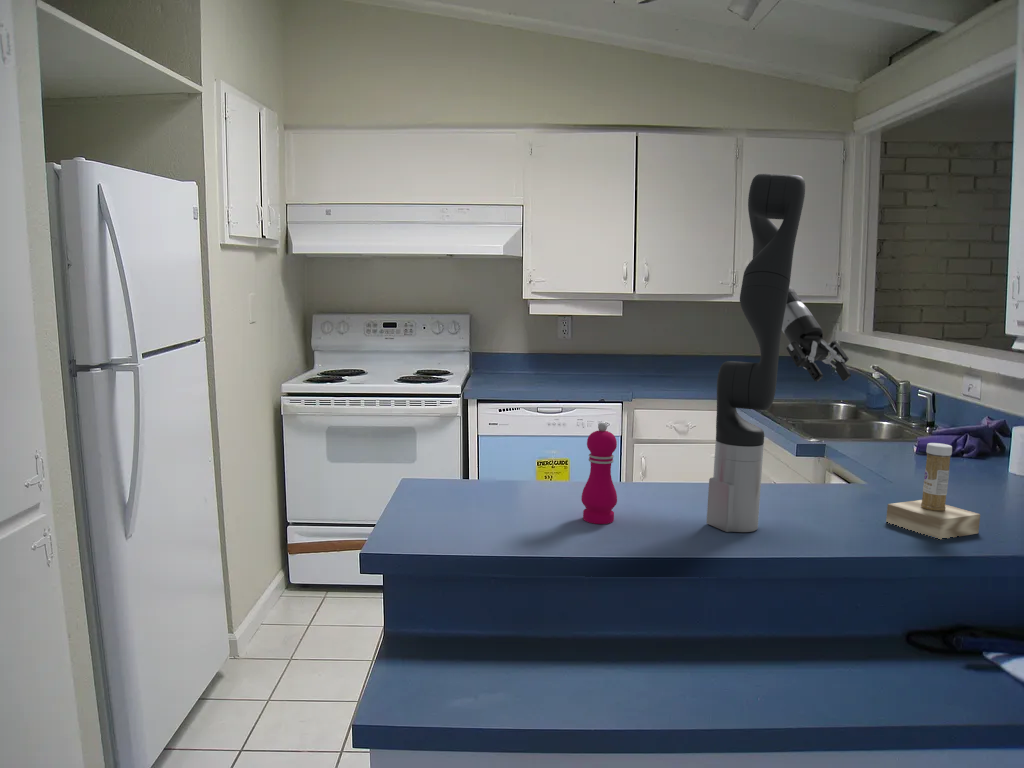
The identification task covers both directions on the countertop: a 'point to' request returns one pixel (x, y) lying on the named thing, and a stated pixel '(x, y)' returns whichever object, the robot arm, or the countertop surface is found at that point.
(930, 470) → the sprinkles bottle
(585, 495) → the pepper mill
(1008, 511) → the countertop surface
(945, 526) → the wooden riser
